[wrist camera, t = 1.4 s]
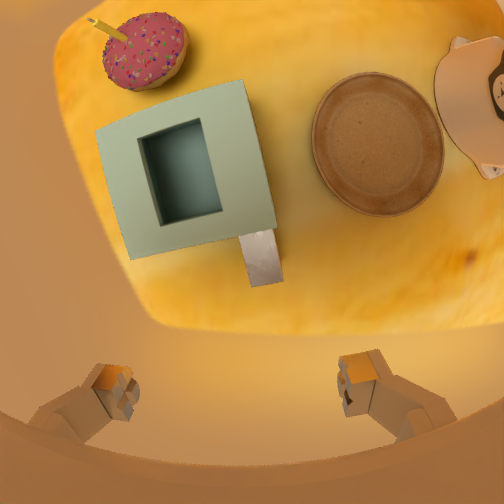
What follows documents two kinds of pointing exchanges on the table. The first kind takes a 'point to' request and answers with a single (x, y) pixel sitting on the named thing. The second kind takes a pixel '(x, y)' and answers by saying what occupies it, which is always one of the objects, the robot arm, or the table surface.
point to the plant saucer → (378, 144)
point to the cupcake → (144, 50)
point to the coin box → (187, 172)
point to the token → (262, 257)
